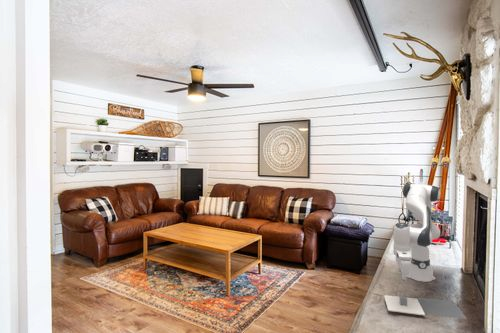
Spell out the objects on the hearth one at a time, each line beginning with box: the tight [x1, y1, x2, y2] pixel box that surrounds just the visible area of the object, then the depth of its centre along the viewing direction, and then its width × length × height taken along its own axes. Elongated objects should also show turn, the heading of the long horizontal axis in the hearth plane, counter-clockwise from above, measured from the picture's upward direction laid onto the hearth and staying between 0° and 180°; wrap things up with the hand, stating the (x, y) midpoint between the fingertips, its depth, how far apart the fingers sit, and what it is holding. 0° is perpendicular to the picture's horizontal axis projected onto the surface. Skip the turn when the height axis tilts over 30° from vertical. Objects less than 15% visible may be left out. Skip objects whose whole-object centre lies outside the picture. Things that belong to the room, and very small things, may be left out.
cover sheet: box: [383, 295, 426, 316], centre depth 166 cm, size 18×18×5 cm
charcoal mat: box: [415, 296, 468, 320], centre depth 166 cm, size 20×20×1 cm
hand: (402, 275), depth 166 cm, fingers open, 8 cm apart
